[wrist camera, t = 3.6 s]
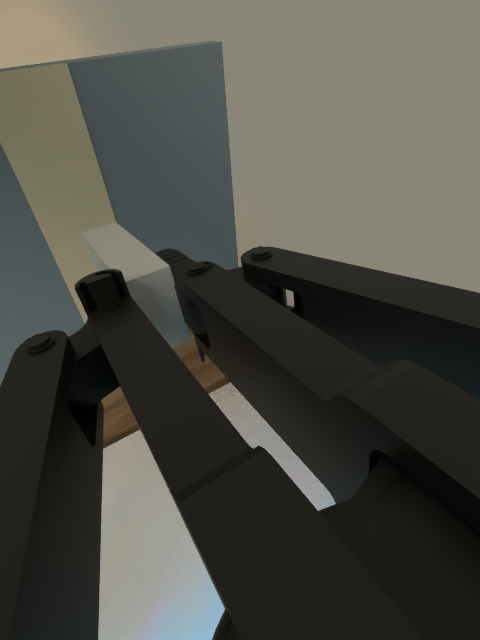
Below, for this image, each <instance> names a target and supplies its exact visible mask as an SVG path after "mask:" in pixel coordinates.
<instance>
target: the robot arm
mask: <svg viewBox="0 0 480 640" xmlns="http://www.w3.org/2000/svg"><path fill="white" fill-rule="evenodd" d="M82 236H83V238H84V241H85V243H86V245H87V248H88V250H89V253H90V255H91V257H92V260H93V262H94V265H95V267H96V270H97V272H94V273H91V274H89V275H87V276H85V277H83V278H82V279H80V280H79V281H78V282H77V283H76V284H75V291H76V293H77V295H78V297H79V299H80V301H81V304H82V306H83V308H84V310H85V312H86V314H87V318H88V319H87V322H86V323H85V325H84V326H83V327H82V328H81V329H80V330H78V331H77V332H75V333H74V334H72V335H71V336H69V337H68V336H67V334H66V333H65V332H63V331H60V330H52V331H47V332H43V333H41V334H36V335H33V336H32V337H30V338H28V339H26V340H25V342H23V343H22V344H21V345H20V346H18V348H17V349H16V350H15V352H14V353H13V356H12V359H11V361H10V364H9V366H8V369H7V371H6V374H5V376H4V379H3V381H2V384H1V386H0V640H98V622H99V583H100V544H101V505H102V466H103V427H104V407H103V404H102V402H101V400H102V399H103V398H105V397H106V396H107V395H109V394H110V393H111V392H113V391H114V390H115V389H117V388H118V387H119V386H120V387H121V389H122V391H123V394H124V396H125V398H126V400H127V402H128V404H129V406H130V408H131V410H132V413H133V415H134V417H135V419H136V421H137V423H138V425H139V427H140V430H141V432H142V434H143V436H144V438H145V440H146V442H147V444H148V446H149V449H150V451H151V453H152V455H153V457H154V459H155V461H156V463H157V465H158V468H159V470H160V472H161V474H162V476H163V478H164V480H165V482H166V484H167V487H168V489H169V491H170V493H171V495H172V497H173V499H174V501H175V504H176V506H177V508H178V510H179V512H180V514H181V516H182V518H183V520H184V523H185V525H186V527H187V529H188V531H189V533H190V535H191V537H192V539H193V542H194V544H195V546H196V548H197V550H198V552H199V554H200V556H201V559H202V561H203V563H204V565H205V567H206V569H207V571H208V573H209V575H210V578H211V580H212V582H213V584H214V586H215V588H216V590H217V592H218V595H219V597H220V599H221V601H222V603H223V605H224V607H225V611H224V613H223V615H222V617H221V619H220V621H219V624H218V626H217V628H216V630H215V633H214V636H213V639H212V640H480V293H477V292H472V291H468V290H464V289H459V288H455V287H450V286H446V285H441V284H437V283H432V282H428V281H423V280H419V279H414V278H409V277H405V276H401V275H396V274H392V273H387V272H383V271H378V270H373V269H369V268H364V267H360V266H355V265H351V264H347V263H342V262H338V261H333V260H329V259H324V258H320V257H315V256H310V255H306V254H302V253H297V252H293V251H288V250H284V249H279V248H275V247H262V246H260V247H257V248H252V249H251V250H249V251H247V252H246V253H244V254H243V255H242V256H241V263H242V267H239V268H235V269H230V270H225V269H224V268H222V267H220V266H219V265H217V264H216V263H213V262H210V261H202V262H194V261H193V260H192V259H190V258H188V257H187V256H186V255H183V253H181V252H180V251H178V250H175V249H169V248H167V249H164V250H161V251H159V252H156V253H153V252H152V251H151V250H150V249H148V248H147V247H146V246H145V245H144V244H142V243H141V242H140V241H139V240H137V239H136V238H135V237H134V236H132V235H131V234H130V233H129V232H127V231H126V230H125V229H124V228H123V227H121V226H120V225H119V224H118V223H116V222H114V223H111V224H108V225H105V226H102V227H98V228H95V229H92V230H89V231H85V232H82ZM285 289H287V290H290V291H293V293H294V303H295V304H294V307H291V306H288V305H287V299H286V290H285ZM187 326H188V327H189V328H190V329H191V330H192V331H193V334H194V338H195V341H196V345H197V348H198V352H199V355H200V359H201V361H202V363H203V362H205V359H204V356H205V354H206V355H207V356H208V357H209V359H210V360H211V361H212V362H213V363H214V364H215V365H216V366H217V367H218V369H219V370H220V371H221V372H222V373H223V374H224V375H225V376H226V377H227V379H228V380H229V381H230V382H231V383H232V384H233V385H234V386H235V387H236V389H237V390H238V391H239V392H240V393H241V394H242V395H243V396H244V397H245V398H246V400H247V401H248V402H249V403H250V404H251V405H252V406H253V407H254V408H255V410H256V411H257V412H258V413H259V414H260V415H261V416H262V417H263V418H264V420H265V421H266V422H267V423H268V424H269V425H270V426H271V427H272V428H273V429H274V431H275V432H276V433H277V434H278V435H279V436H280V437H281V438H282V439H283V441H284V442H285V443H286V444H287V445H288V446H289V447H290V448H291V449H292V451H293V452H294V453H295V454H296V455H297V456H298V457H299V458H300V459H301V460H302V462H303V463H304V464H305V465H306V466H307V467H308V468H309V469H310V470H311V472H312V473H313V474H314V475H315V476H316V477H317V478H318V479H319V480H320V482H321V483H322V484H323V485H324V486H325V487H326V488H327V490H328V491H329V492H330V494H331V495H332V497H333V499H334V501H335V503H336V504H335V505H333V506H330V507H327V508H325V509H322V510H319V511H317V509H316V508H315V507H314V506H313V505H312V503H311V502H310V501H309V500H308V499H307V497H306V496H305V495H304V494H303V493H302V491H301V490H300V489H299V488H298V487H297V485H296V484H295V483H294V482H293V481H292V479H291V478H290V477H289V476H288V475H287V474H286V472H285V471H284V470H283V469H282V468H281V466H280V465H279V464H278V463H277V462H276V460H275V459H274V458H273V457H272V456H271V455H270V454H269V453H268V452H267V451H266V450H265V449H264V448H262V447H260V446H257V447H256V448H254V449H253V448H251V447H250V446H249V445H248V444H247V443H246V441H245V440H244V439H243V438H242V436H241V435H240V434H239V433H238V431H237V430H236V429H235V427H234V426H233V425H232V424H231V422H230V421H229V420H228V419H227V417H226V416H225V415H224V414H223V412H222V411H221V410H220V409H219V407H218V406H217V405H216V403H215V402H214V401H213V400H212V398H211V397H210V396H209V395H208V393H207V392H206V391H205V390H204V388H203V387H202V386H201V384H200V383H199V382H198V381H197V379H196V378H195V377H194V376H193V374H192V373H191V372H190V371H189V369H188V368H187V367H186V365H185V364H184V363H183V362H182V360H181V359H180V358H179V357H178V355H177V354H176V353H175V352H174V350H173V349H172V347H174V346H177V345H179V344H181V343H183V342H185V341H188V340H190V339H191V337H190V334H189V330H188V327H187Z"/></svg>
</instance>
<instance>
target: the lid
mask: <svg viewBox="0 0 480 640" xmlns="http://www.w3.org/2000/svg"><path fill="white" fill-rule="evenodd" d="M224 82H225V81H224V68H223V55H222V42H216V41H207V42H200V43H192V44H184V45H177V46H170V47H162V48H154V49H147V50H139V51H132V52H124V53H117V54H109V55H102V56H94V57H87V58H80V59H71V60H64V61H57V62H49V63H41V64H34V65H26V66H19V67H12V68H5V69H0V386H1V384H2V381H3V379H4V376H5V374H6V371H7V369H8V366H9V364H10V361H11V359H12V356H13V353H14V352H15V350H16V349H17V348H18V346H20V345H21V344H22V343H23V342H25V340H26V339H28V338H30V337H32V336H33V335H36V334H41V333H43V332H47V331H52V330H60V331H63V332H65V333H66V334H67V336H68V337H69V336H71V335H72V334H74V333H75V332H77V331H78V330H80V329H81V328H82V327H83V326H84V325H85V323H86V322H87V319H88V318H87V314H86V312H85V310H84V308H83V306H82V304H81V301H80V299H79V297H78V295H77V293H76V291H75V284H76V283H77V282H78V281H79V280H80V279H82V278H83V277H85V276H87V275H89V274H91V273H94V272H97V270H96V267H95V265H94V262H93V260H92V257H91V255H90V253H89V250H88V248H87V245H86V243H85V241H84V238H83V236H82V232H85V231H89V230H92V229H95V228H98V227H102V226H105V225H108V224H111V223H114V222H116V223H118V224H119V225H120V226H121V227H123V228H124V229H125V230H126V231H127V232H129V233H130V234H131V235H132V236H134V237H135V238H136V239H137V240H139V241H140V242H141V243H142V244H144V245H145V246H146V247H147V248H148V249H150V250H151V251H152V252H153V253H156V252H159V251H161V250H164V249H167V248H169V249H175V250H178V251H180V252H181V253H183V255H186V256H187V257H188V258H190V259H192V260H193V261H194V262H202V261H210V262H213V263H216V264H217V265H219V266H220V267H222V268H224V269H225V270H230V269H235V268H238V256H237V244H236V229H235V217H234V204H233V190H232V176H231V163H230V150H229V135H228V123H227V108H226V95H225V83H224ZM187 327H188V326H187ZM188 328H189V327H188Z"/></svg>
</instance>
